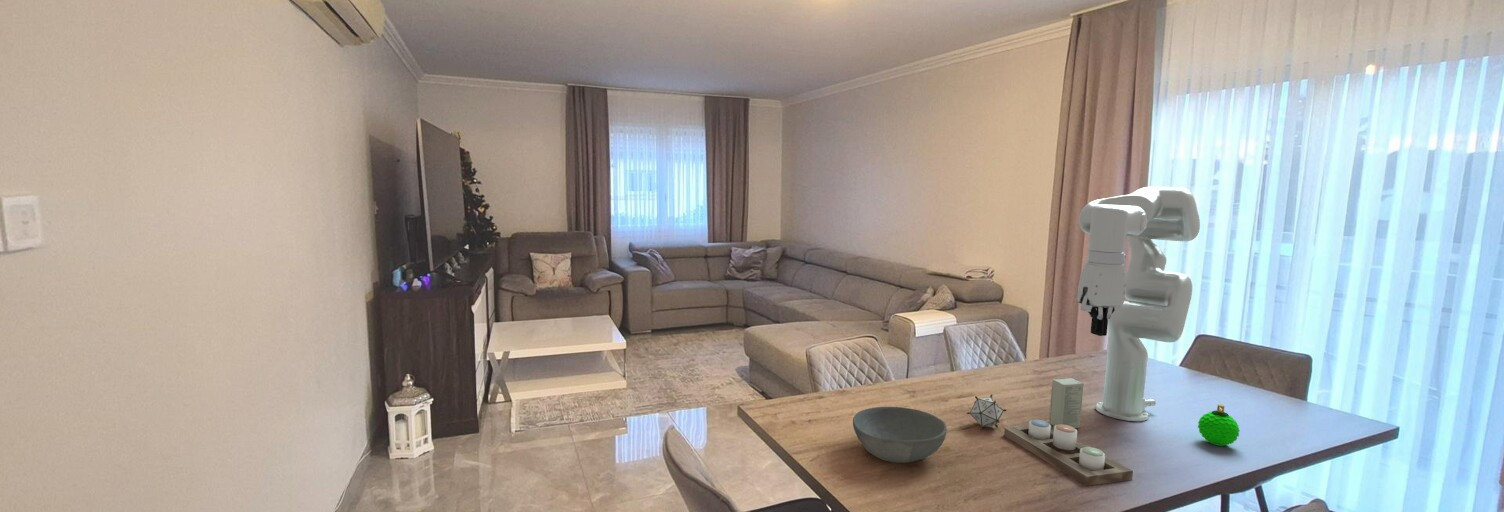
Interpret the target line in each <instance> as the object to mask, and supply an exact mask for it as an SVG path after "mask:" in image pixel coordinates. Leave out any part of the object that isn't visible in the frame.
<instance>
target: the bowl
mask: <svg viewBox="0 0 1504 512" xmlns="http://www.w3.org/2000/svg"><path fill="white" fill-rule="evenodd" d="M852 427H853V429H854V430H853V431H854V433H855V435H856V438H857V439H858V441H859V443H860V444H861V445H862V447H864V449H865V450H866V451H867V452H869V454H871V455H872V456H874V457H876V458H877V459H880V460H882V461H886V462H890V463H899V464H902V463H912V462H913V463H914V462H917V461H920V460H923V459H926V458H928V457H929V456H932V455H933V454H935V452H937V450H938V449H939V448H940V447H941V446H942V444H943V443H944V441H945V439H946V436H947V431H948V427H947V425H946V423H945V421H943V420H942V419H941V418H940V417H937V416H936V415H934V414H931V413H929V412H927V411H926V412H925V411H923V410H919V409H916V408H915V409H914V408H910V407H902V406H876V407H870V408H865V409H862V410H859V411H858V412H857V413H856V414H855V415H854V416H853V418H852Z"/></svg>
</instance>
